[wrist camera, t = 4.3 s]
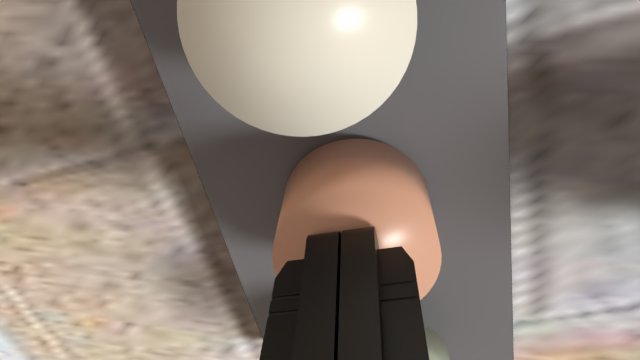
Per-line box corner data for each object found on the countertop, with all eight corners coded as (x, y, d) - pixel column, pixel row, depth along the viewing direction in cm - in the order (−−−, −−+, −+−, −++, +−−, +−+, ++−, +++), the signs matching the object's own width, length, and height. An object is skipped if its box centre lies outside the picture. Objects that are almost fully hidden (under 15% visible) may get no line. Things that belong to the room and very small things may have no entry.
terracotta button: (340, 110, 12) (337, 159, 10) (458, 190, 13) (477, 250, 11) (258, 213, 14) (241, 273, 12) (368, 277, 15) (370, 343, 13)
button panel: (137, -81, 12) (102, -72, 10) (478, -166, 11) (501, -172, 9) (287, 341, 20) (281, 386, 18) (499, 320, 18) (513, 366, 17)
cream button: (278, -164, 9) (255, -174, 7) (445, -28, 10) (469, 0, 8) (181, 18, 10) (138, 55, 8) (329, 119, 11) (324, 173, 9)
